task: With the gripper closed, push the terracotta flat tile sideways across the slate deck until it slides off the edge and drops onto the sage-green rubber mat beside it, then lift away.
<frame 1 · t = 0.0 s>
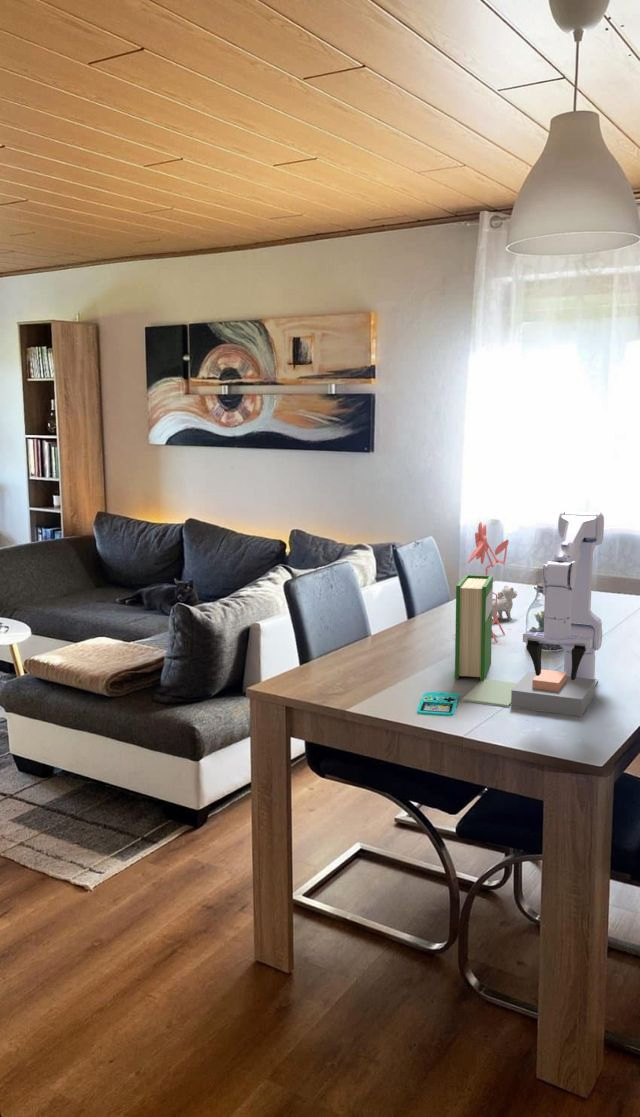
hand: (555, 676, 196), 10 cm above the table, fingers open, 7 cm apart
figurine: (478, 637, 269), on the table
dog figurine: (500, 619, 290), on the table
slate deck: (553, 701, 211), on the table
sage mat: (495, 693, 217), on the table
handheld gaming console: (438, 706, 210), on the table
terracotta tile: (549, 684, 210), point 4 cm above the table, touching slate deck
hardback book: (473, 671, 234), on the table, touching sage mat
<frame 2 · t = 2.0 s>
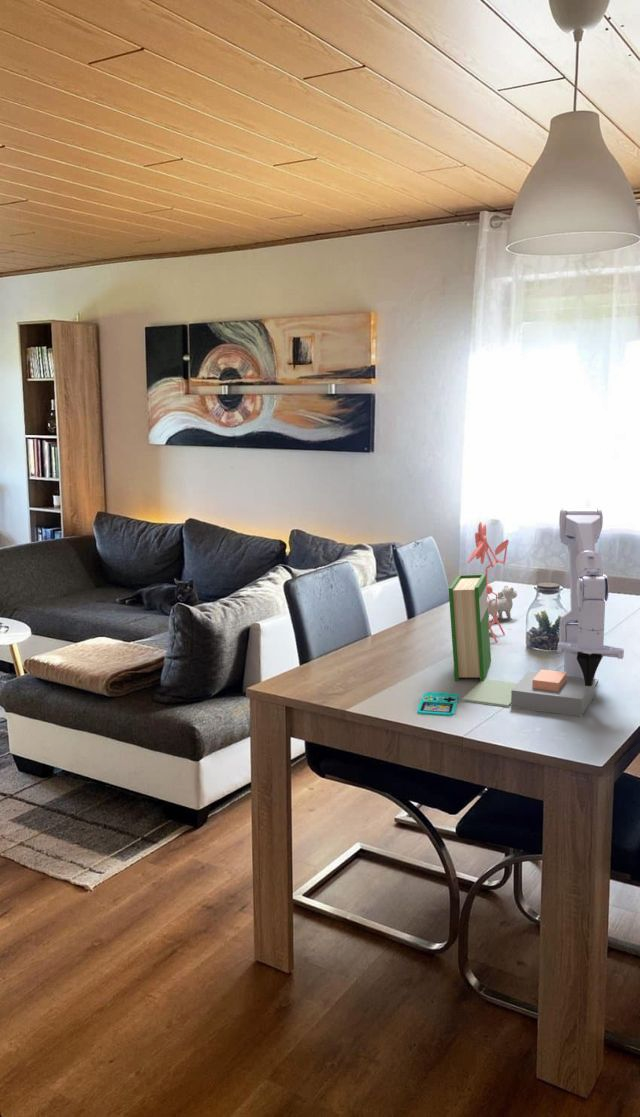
hand: (588, 684, 206), 5 cm above the table, fingers closed
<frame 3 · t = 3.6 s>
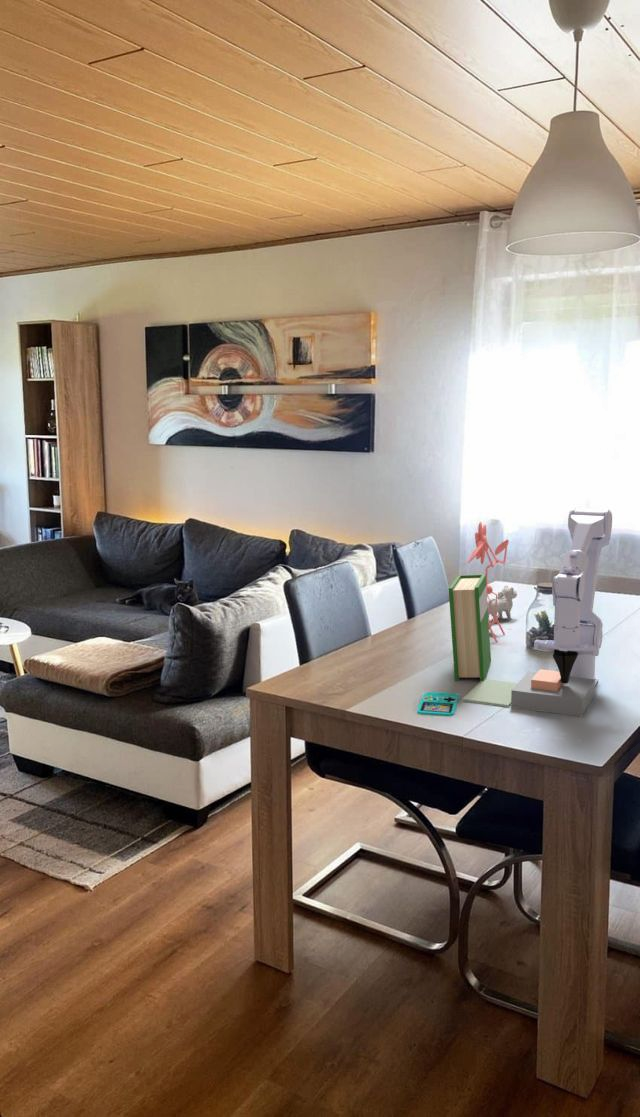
hand: (565, 682, 209), 5 cm above the table, fingers closed
terracotta tile: (548, 684, 210), point 4 cm above the table, touching gripper
everything else where it was.
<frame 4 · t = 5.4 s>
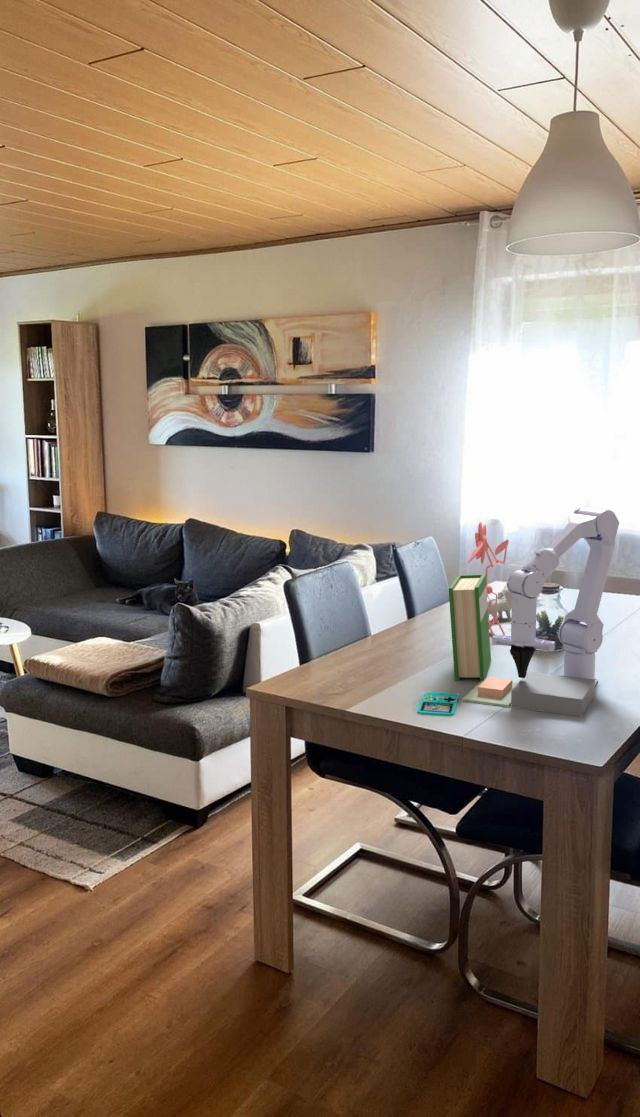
hand: (522, 676, 213), 5 cm above the table, fingers closed
terracotta tile: (495, 683, 216), point 2 cm above the table, tilted 180°, touching sage mat
everything else where it was.
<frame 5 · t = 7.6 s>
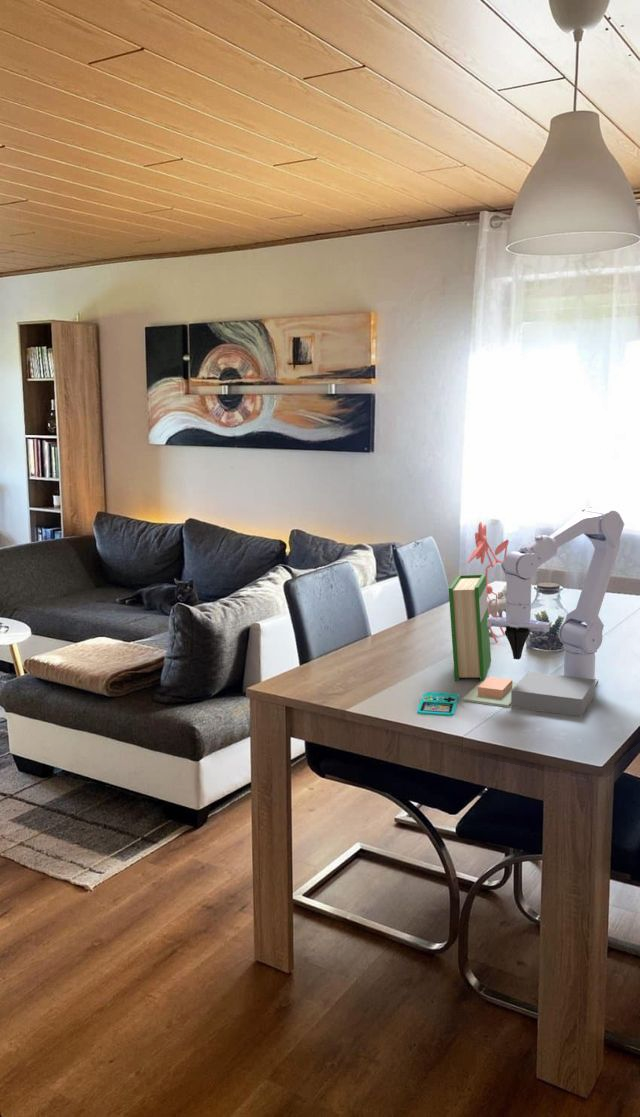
hand: (517, 658, 213), 9 cm above the table, fingers closed
nothing on the table moved.
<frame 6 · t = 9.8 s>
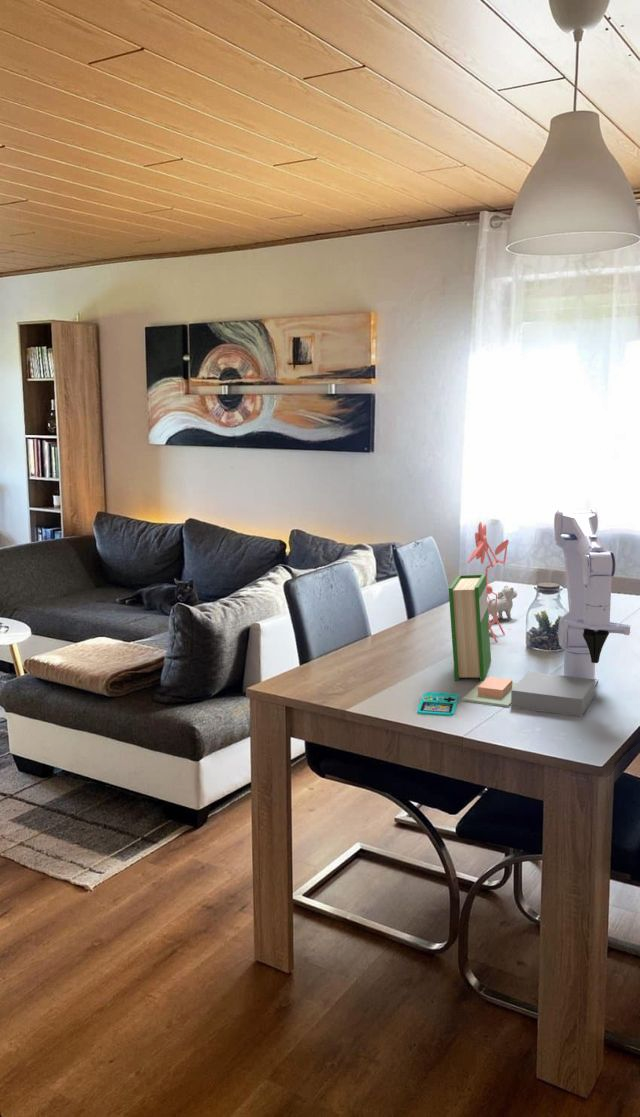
hand: (595, 661, 205), 10 cm above the table, fingers closed
nothing on the table moved.
at the end: terracotta tile point 2.5 cm above the table; terracotta tile inside the target area on the sage mat (0.2 cm from its centre), point 2.5 cm above the sage mat's base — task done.
